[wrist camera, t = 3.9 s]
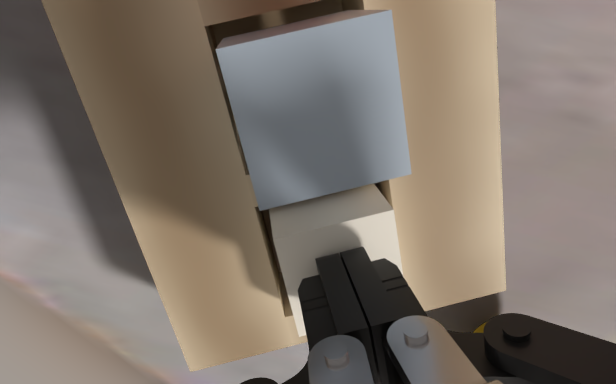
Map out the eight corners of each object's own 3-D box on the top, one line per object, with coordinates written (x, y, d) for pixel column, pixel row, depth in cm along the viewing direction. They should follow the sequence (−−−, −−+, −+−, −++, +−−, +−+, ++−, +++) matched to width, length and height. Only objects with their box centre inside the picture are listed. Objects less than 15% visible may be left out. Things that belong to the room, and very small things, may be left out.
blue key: (348, 10, 13) (391, 9, 9) (367, 131, 14) (411, 173, 11) (223, 38, 13) (215, 49, 9) (255, 158, 14) (259, 210, 10)
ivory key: (360, 166, 17) (393, 209, 13) (374, 248, 18) (407, 308, 15) (266, 189, 17) (273, 239, 13) (287, 270, 18) (298, 336, 14)
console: (416, -272, 14) (481, -377, 10) (459, 240, 21) (505, 290, 17) (18, -195, 13) (-70, -275, 9) (199, 305, 20) (190, 372, 16)
